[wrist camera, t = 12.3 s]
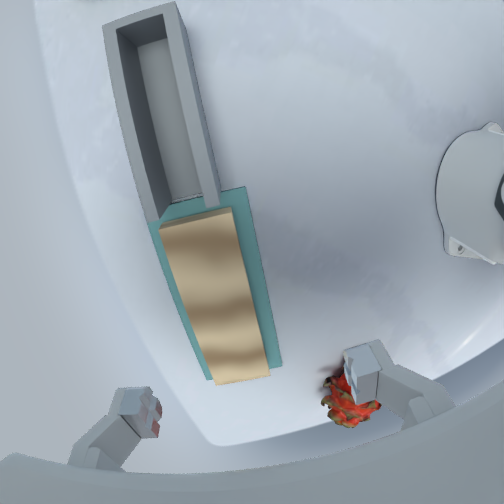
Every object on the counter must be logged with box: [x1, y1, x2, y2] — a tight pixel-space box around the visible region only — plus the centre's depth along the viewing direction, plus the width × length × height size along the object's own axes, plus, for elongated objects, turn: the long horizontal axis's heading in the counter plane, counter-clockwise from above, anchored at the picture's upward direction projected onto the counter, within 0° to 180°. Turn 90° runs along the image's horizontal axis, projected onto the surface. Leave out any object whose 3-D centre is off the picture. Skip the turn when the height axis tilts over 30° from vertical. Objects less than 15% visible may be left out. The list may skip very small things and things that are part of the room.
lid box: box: [102, 1, 221, 223], centre depth 22 cm, size 16×6×7 cm, turn 11°
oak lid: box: [158, 207, 270, 386], centre depth 31 cm, size 20×7×3 cm, turn 11°
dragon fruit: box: [321, 366, 382, 428], centre depth 37 cm, size 8×8×12 cm
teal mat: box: [147, 186, 282, 380], centre depth 33 cm, size 23×10×1 cm, turn 11°
